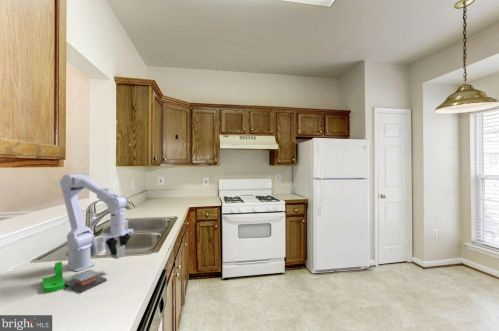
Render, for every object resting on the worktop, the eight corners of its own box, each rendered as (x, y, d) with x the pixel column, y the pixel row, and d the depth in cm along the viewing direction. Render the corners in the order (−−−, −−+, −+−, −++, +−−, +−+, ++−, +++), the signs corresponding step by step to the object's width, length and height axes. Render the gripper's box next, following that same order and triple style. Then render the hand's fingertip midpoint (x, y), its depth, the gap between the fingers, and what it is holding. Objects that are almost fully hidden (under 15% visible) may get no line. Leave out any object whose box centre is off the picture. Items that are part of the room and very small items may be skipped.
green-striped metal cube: (111, 257, 106) (111, 246, 106) (119, 254, 110) (119, 243, 110) (116, 258, 105) (116, 247, 105) (125, 255, 108) (125, 244, 108)
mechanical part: (42, 283, 97) (42, 264, 97) (61, 278, 101) (60, 259, 101) (44, 295, 89) (44, 274, 88) (64, 289, 93) (64, 269, 93)
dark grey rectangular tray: (63, 285, 95) (63, 276, 95) (89, 274, 104) (89, 267, 104) (80, 292, 90) (80, 283, 90) (106, 281, 99) (106, 272, 99)
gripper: (107, 228, 99) (107, 260, 99) (137, 220, 112) (137, 249, 112) (97, 226, 102) (97, 257, 102) (127, 219, 115) (127, 246, 115)
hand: (118, 252), depth 107 cm, fingers closed on green-striped metal cube, 4 cm apart
